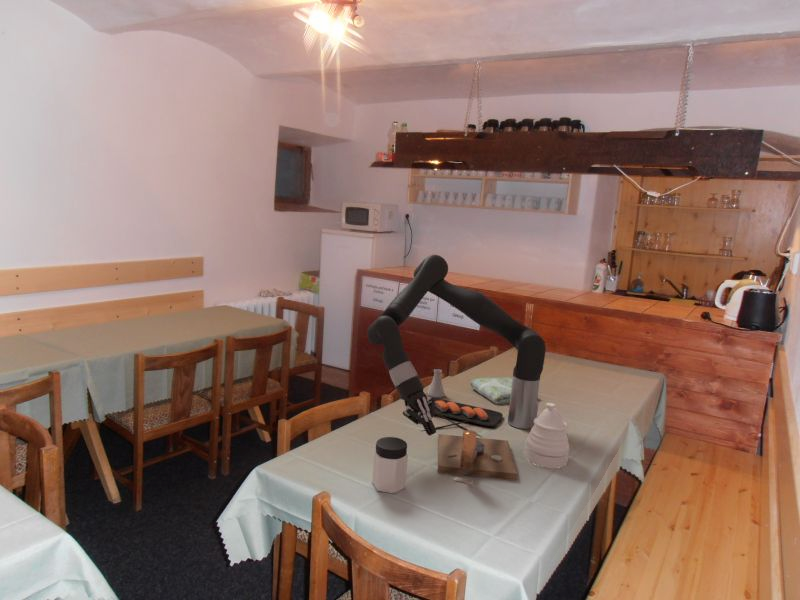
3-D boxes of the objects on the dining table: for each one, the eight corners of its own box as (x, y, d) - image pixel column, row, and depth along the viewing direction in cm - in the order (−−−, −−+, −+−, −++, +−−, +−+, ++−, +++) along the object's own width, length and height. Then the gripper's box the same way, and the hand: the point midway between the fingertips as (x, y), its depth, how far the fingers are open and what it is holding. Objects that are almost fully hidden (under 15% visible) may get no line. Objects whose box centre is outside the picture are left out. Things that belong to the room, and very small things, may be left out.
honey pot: (560, 472, 167) (567, 414, 164) (518, 459, 174) (524, 403, 171) (572, 457, 178) (580, 402, 175) (532, 445, 185) (539, 392, 182)
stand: (507, 446, 183) (508, 439, 182) (518, 489, 156) (519, 480, 156) (437, 439, 184) (438, 432, 183) (437, 481, 157) (438, 472, 157)
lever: (468, 446, 175) (472, 409, 173) (485, 449, 174) (488, 412, 171) (455, 474, 157) (459, 433, 155) (473, 478, 155) (478, 437, 153)
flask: (443, 399, 221) (445, 374, 219) (425, 396, 222) (427, 372, 220) (446, 393, 228) (448, 369, 226) (428, 390, 229) (430, 366, 227)
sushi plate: (504, 418, 208) (505, 408, 207) (480, 449, 181) (482, 437, 180) (429, 401, 219) (430, 391, 219) (396, 428, 192) (397, 417, 192)
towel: (538, 401, 228) (540, 388, 227) (494, 406, 219) (495, 393, 218) (511, 385, 244) (512, 374, 243) (468, 390, 235) (469, 378, 234)
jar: (388, 474, 159) (391, 433, 157) (411, 485, 154) (414, 443, 152) (365, 485, 152) (368, 442, 150) (388, 497, 147) (392, 453, 145)
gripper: (412, 379, 177) (437, 431, 174) (383, 390, 167) (409, 445, 164) (428, 369, 173) (454, 422, 169) (399, 380, 163) (427, 437, 159)
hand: (432, 434), depth 166 cm, fingers closed
